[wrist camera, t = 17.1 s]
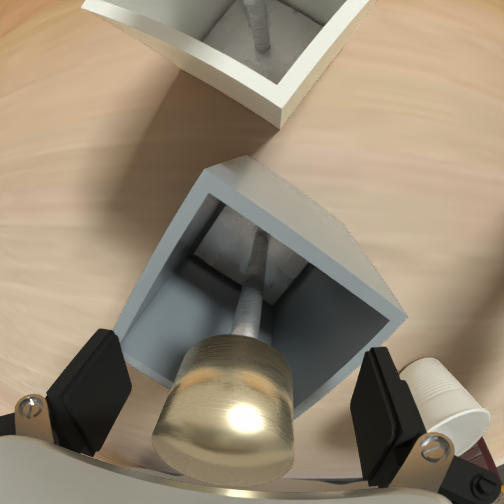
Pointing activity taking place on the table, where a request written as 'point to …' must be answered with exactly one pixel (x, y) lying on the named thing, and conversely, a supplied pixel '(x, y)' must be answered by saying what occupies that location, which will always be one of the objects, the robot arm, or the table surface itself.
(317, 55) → the white open box
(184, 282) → the grey open box
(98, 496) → the robot arm
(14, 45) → the table surface
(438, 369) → the cup
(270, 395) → the brass knobbed plunger
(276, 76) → the bronze knobbed rod
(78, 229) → the table surface
